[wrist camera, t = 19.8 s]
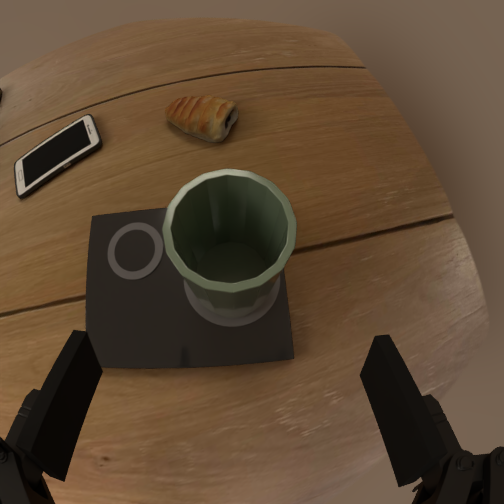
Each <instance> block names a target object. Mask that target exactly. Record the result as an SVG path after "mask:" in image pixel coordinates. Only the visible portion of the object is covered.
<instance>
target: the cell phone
mask: <svg viewBox="0 0 504 504" xmlns="http://www.w3.org/2000/svg"><path fill="white" fill-rule="evenodd" d="M101 145H102V139H101V137H100V134H99V131H98V129H97V126H96V123H95V121H94V118H93V116H92V115H91V114H86V115H84V116H82V117H81V118H79V119H77V120H76V121H74V122H72V123H71V124H69V125H67V126H66V128H65V127H64V128H63V129H61V130H59V131H58V132H56V133H55V134H53V135H52V136H50V137H49V138H47V139H46V140H44V141H43V142H41V143H40V144H38V145H37V146H36V147H34V148H33V149H31V150H30V151H29V152H27V153H26V154H25V155H23V156H22V157H21V158H19V159H18V160H17V161H16V162H15V164H14V176H15V186H16V194H17V196H18V197H19V198H20V199H22V198H24V197H26V196H27V195H28V194H30V193H31V192H32V191H34V190H35V189H36V188H38V187H39V186H41V185H42V184H43V183H45V182H46V181H48V180H49V179H50V178H52V177H53V176H55V175H56V174H58V173H59V172H61V171H62V170H64V169H65V168H67V167H68V166H70V165H72V164H73V163H75V162H77V161H78V160H80V159H81V158H83V157H85V156H86V155H88V154H90V153H91V152H93V151H95V150H96V149H98V148H99V147H100V146H101Z"/></svg>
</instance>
